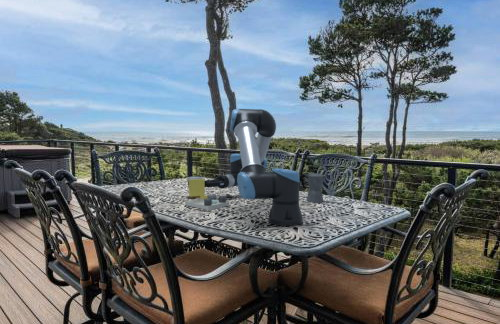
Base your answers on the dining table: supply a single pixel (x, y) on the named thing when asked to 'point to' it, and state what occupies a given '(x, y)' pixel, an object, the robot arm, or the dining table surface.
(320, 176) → the coffeepot
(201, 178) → the disposable coffee cup
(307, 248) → the dining table surface
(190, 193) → the yellow flat slab
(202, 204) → the base
